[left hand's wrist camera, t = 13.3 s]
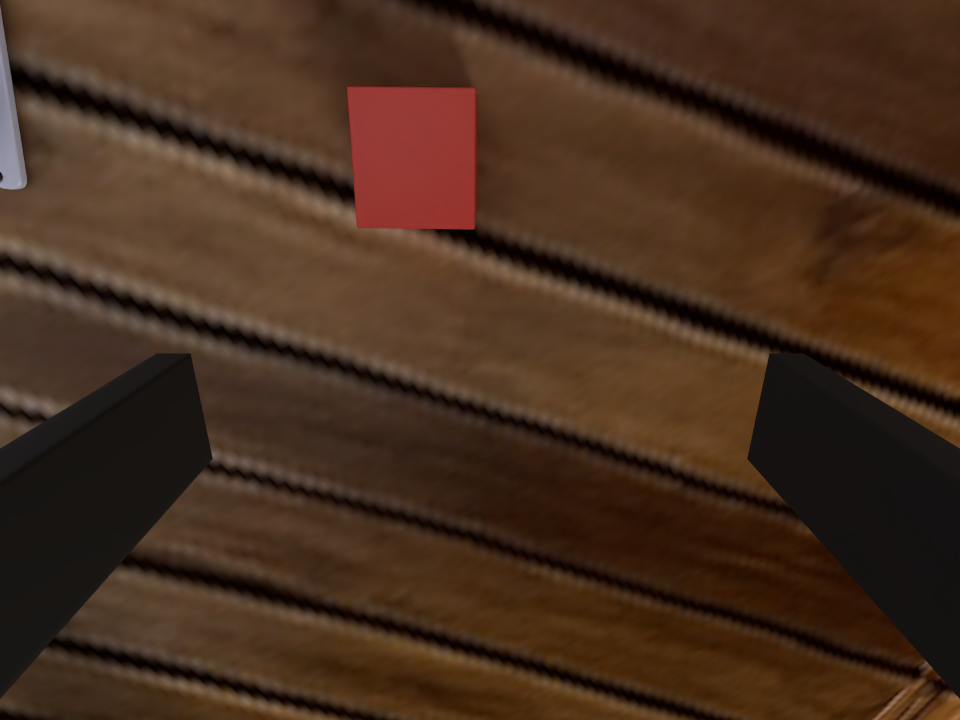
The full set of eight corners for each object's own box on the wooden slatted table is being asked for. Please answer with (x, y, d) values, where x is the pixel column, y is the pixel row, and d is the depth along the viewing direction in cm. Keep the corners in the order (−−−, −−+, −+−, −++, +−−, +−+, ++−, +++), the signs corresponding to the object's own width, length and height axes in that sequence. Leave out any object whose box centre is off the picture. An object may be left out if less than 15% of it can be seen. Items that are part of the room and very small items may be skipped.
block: (381, 213, 24) (356, 228, 19) (374, 99, 22) (346, 85, 17) (476, 214, 24) (475, 229, 19) (477, 100, 22) (475, 87, 17)
